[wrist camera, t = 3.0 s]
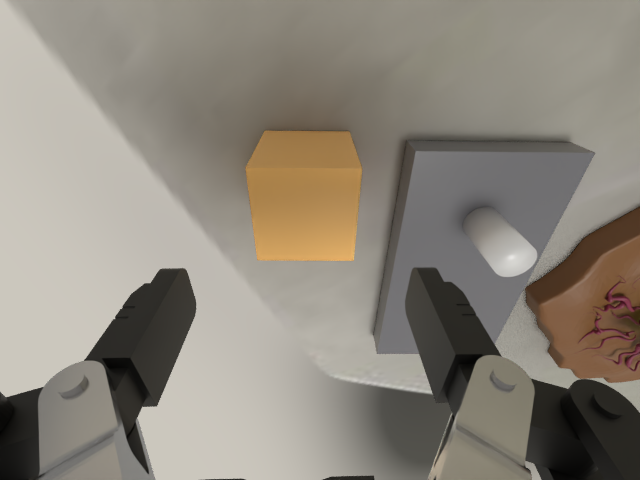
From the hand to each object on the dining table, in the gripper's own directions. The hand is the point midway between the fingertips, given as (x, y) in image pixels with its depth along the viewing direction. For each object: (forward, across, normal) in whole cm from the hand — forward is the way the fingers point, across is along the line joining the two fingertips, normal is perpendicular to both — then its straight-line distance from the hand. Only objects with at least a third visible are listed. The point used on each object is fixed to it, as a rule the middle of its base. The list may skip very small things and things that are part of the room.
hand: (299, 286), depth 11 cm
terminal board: (+10, -11, +7) cm, 17 cm away
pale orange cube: (+10, 0, 0) cm, 10 cm away
